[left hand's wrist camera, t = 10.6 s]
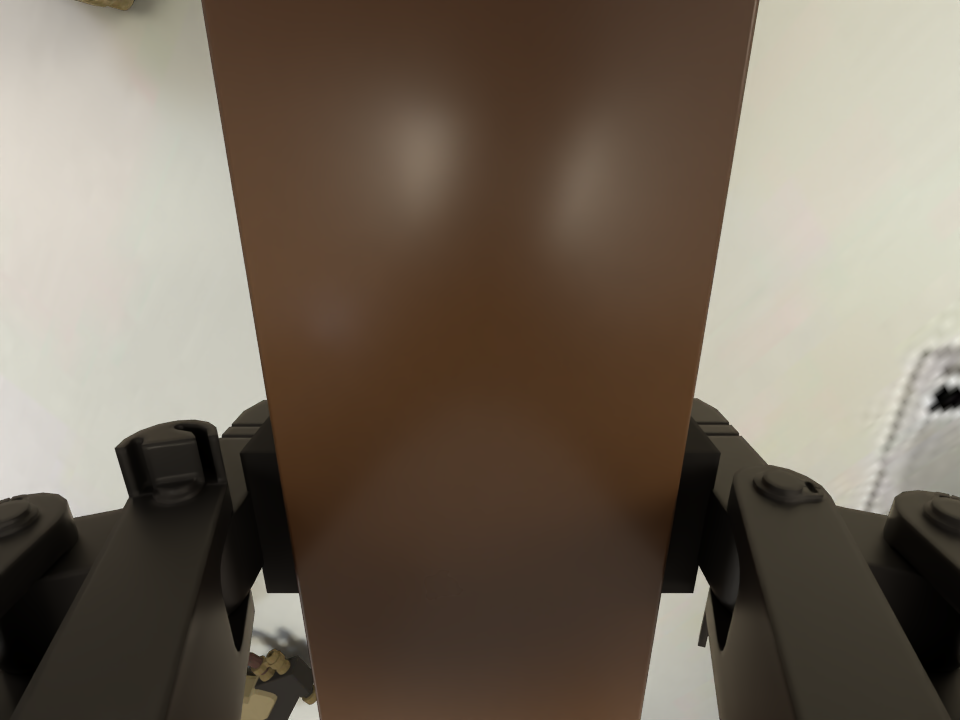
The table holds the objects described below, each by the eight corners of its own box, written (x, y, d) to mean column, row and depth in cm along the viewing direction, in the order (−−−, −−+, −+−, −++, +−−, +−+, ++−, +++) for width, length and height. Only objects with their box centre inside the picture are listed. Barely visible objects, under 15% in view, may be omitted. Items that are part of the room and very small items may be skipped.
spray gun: (339, 686, 37) (147, 706, 39) (251, 505, 30) (21, 539, 32) (321, 752, 33) (108, 771, 35) (216, 562, 26) (-44, 597, 28)
